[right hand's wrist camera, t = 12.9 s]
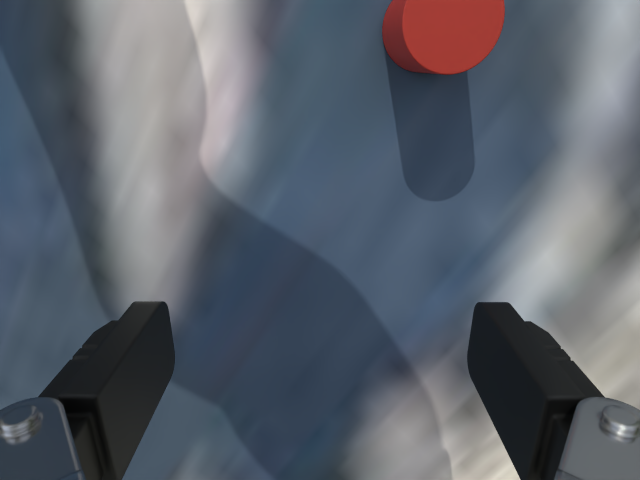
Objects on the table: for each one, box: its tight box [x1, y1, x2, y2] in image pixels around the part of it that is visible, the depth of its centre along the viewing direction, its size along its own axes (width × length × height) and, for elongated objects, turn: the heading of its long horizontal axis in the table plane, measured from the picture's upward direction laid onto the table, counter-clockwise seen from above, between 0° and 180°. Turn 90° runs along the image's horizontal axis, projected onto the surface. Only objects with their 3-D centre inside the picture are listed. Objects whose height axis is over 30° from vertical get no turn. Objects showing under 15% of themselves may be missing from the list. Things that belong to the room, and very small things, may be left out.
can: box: [382, 0, 505, 75], centre depth 19 cm, size 4×4×5 cm
